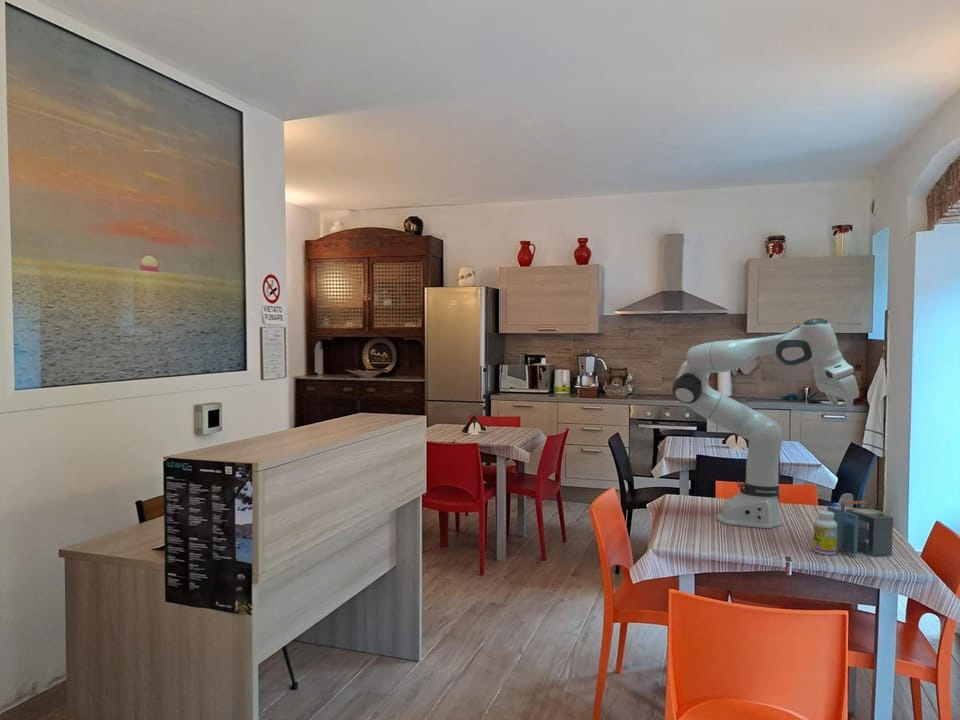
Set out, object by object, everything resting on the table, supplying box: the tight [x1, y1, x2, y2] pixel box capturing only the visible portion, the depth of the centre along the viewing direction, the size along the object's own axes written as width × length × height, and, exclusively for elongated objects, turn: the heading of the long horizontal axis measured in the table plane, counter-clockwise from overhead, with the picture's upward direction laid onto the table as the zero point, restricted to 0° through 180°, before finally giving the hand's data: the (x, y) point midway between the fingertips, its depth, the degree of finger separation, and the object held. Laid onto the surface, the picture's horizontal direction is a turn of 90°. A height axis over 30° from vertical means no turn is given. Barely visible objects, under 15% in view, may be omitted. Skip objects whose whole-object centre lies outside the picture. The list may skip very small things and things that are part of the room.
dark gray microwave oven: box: [845, 507, 894, 557], centre depth 217 cm, size 7×12×13 cm, turn 12°
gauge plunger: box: [827, 500, 869, 555], centre depth 216 cm, size 10×12×15 cm
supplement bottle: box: [812, 510, 838, 556], centre depth 214 cm, size 7×7×13 cm
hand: (842, 407), depth 216 cm, fingers open, 8 cm apart
